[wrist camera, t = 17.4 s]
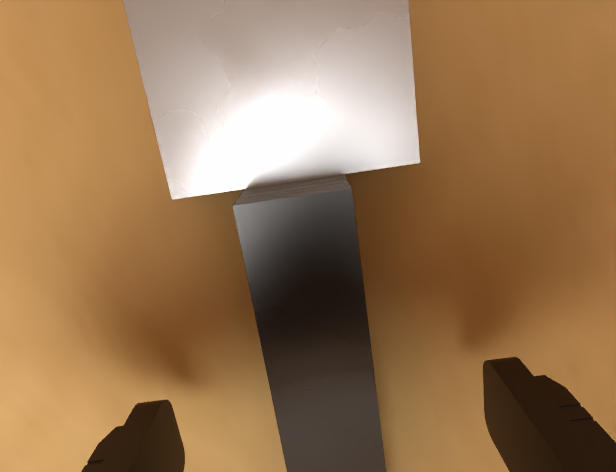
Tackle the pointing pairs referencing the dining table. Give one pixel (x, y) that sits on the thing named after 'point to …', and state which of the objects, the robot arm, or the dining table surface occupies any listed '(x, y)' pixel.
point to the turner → (290, 181)
